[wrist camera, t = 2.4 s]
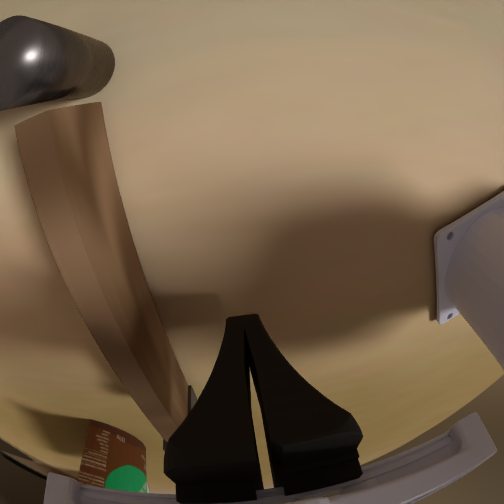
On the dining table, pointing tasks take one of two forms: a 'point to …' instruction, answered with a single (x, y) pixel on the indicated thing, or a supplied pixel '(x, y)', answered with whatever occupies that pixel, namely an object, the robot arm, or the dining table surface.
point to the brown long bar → (101, 256)
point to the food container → (113, 459)
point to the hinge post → (49, 63)
